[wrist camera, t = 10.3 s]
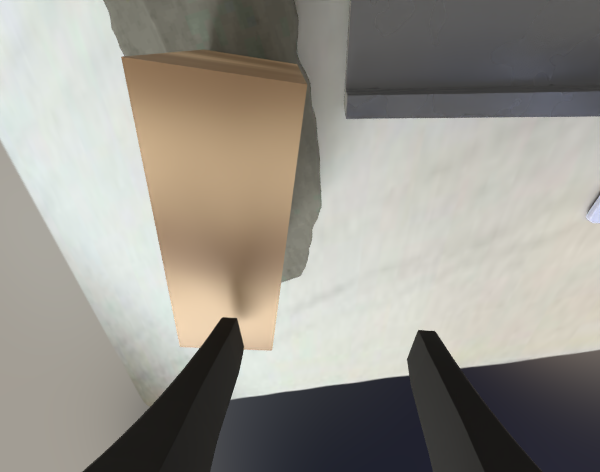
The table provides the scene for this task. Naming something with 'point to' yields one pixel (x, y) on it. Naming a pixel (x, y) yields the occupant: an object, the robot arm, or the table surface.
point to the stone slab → (240, 41)
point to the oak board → (219, 182)
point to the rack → (472, 58)
